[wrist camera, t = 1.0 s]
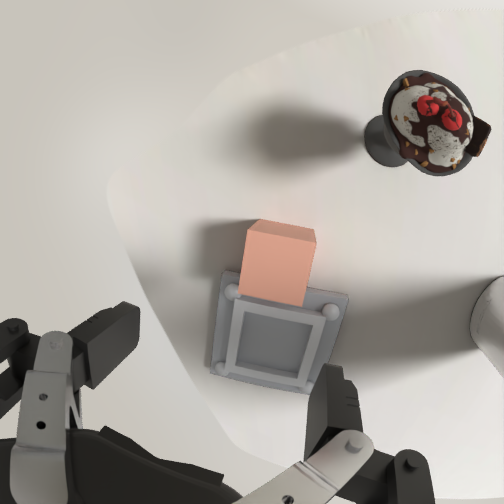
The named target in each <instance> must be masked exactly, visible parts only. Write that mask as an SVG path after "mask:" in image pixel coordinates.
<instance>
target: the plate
mask: <svg viewBox="0 0 504 504" xmlns="http://www.w3.org/2000/svg"><path fill="white" fill-rule="evenodd" d="M240 274H241V273H236V272H232V271H227V270H225V271H224V272H223V273H222V277H221V285H220V292H219V300H218V308H217V316H216V324H215V333H214V341H213V350H212V359H211V368H210V373H211V374H215V375H219V376H222V377H226V378H230V379H234V380H238V381H242V382H247V383H251V384H255V385H260V386H265V387H269V388H274V389H279V390H285V391H290V392H295V393H301V394H307V395H310V393H311V391H312V388H313V386H314V384H315V382H316V379H317V377H318V375H319V373H320V370H321V368H322V366H323V364H324V363H327V364H328V362H329V359H330V356H331V353H332V350H333V347H334V344H335V341H336V338H337V335H338V332H339V329H340V326H341V323H342V320H343V316H344V313H345V310H346V307H347V303H348V297H347V295H345V294H340V293H335V292H330V291H324V290H319V289H314V288H309V287H307V288H306V292H305V296H304V300H303V304H302V307H300V306H295V305H290V304H285V303H280V302H276V301H271V300H266V299H261V298H257V297H252V296H247V295H243V294H238V287H239V281H240Z"/></svg>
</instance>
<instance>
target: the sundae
mask: <svg viewBox="0 0 504 504" xmlns="http://www.w3.org/2000/svg"><path fill="white" fill-rule="evenodd" d="M382 114H383V115H380V116H377V117H375V118H374V119H373V120H372V121H370V122H369V124H368V126H367V128H366V131H365V143H366V147H367V149H368V152H369V153H370V154H371V156H372V157H373V158H374V159H375V160H376V161H377V162H379V163H380V164H382V165H384V166H388V167H398V166H401V165H404V164H405V163H406V162H407V161H409V162H410V163H411V164H412V165H413V166H414V167H416V168H417V169H418V170H420V171H421V172H423V173H426V174H428V175H433V176H446V175H451V174H453V173H456V172H459V171H460V170H462V169H463V168H464V167H465V166H466V165H467V164H468V163H469V162H470V161H471V159H472V157H478V156H479V155H480V153H481V151H482V150H483V148H484V146H485V144H486V141H487V138H488V136H489V134H490V132H491V126H490V125H489V124H487V123H486V122H484V121H483V120H481V119H479V118H477V117H475V116H474V113H473V110H472V107H471V105H470V103H469V101H468V99H467V98H466V96H465V95H464V94H463V92H462V91H461V90H460V89H459V88H458V87H457V86H456V85H455V84H453V83H452V82H451V81H449V80H448V79H446V78H444V77H442V76H440V75H437V74H435V73H431V72H428V71H423V70H413V71H409V72H406V73H404V74H402V75H401V76H399V77H398V78H397V79H396V80H395V81H393V83H392V84H391V86H390V88H389V89H388V91H387V93H386V95H385V97H384V102H383V107H382Z"/></svg>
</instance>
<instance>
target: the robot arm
mask: <svg viewBox="0 0 504 504" xmlns="http://www.w3.org/2000/svg"><path fill="white" fill-rule="evenodd" d="M139 331H140V308H139V307H137V306H135V305H132V304H130V303H127V302H125V301H123V302H121V303H120V304H118V305H117V306H115V307H114V308H108V309H104V310H101V311H99V312H98V313H96V314H95V315H93V317H90V318H89V319H87V321H84V322H83V323H81V324H80V325H78V326H77V327H75V328H74V329H72V330H71V331H69V332H68V333H64V332H61V331H51V332H48V333H46V334H44V335H43V336H42V337H40V336H37V335H34V334H31V333H29V330H28V325H27V323H26V322H25V321H24V320H21V319H18V318H12V319H7V320H5V321H3V322H2V323H0V363H2V362H3V361H4V360H6V359H7V360H8V363H9V366H10V367H9V368H7V369H6V370H5V371H4V372H2V373H1V374H0V419H1V418H2V417H3V416H4V415H5V414H6V413H7V412H8V411H9V410H10V409H11V408H12V407H13V406H14V405H15V404H16V403H18V402H19V401H20V400H21V404H20V412H19V419H18V427H17V438H8V439H0V504H326V503H328V502H329V501H330V500H331V499H332V498H333V497H334V496H335V495H336V496H339V497H341V498H344V499H347V500H350V501H352V502H355V503H356V504H435V498H434V492H433V486H432V481H431V476H430V470H429V466H428V462H427V460H426V458H425V457H424V456H423V455H422V454H421V453H419V452H417V451H415V450H410V449H406V450H402V451H400V452H399V453H397V455H396V456H392V455H389V454H386V453H383V452H380V451H378V450H376V449H374V445H373V442H372V440H371V439H370V438H369V437H368V436H367V435H366V434H364V433H363V427H362V419H361V412H360V408H359V406H360V405H359V400H358V393H357V389H356V387H355V386H354V384H353V383H352V381H350V380H345V379H344V376H343V368H342V367H341V366H336V365H332V364H327V363H324V364H323V366H322V368H321V370H320V373H319V375H318V377H317V379H316V382H315V384H314V386H313V388H312V391H311V393H310V397H309V401H308V411H307V426H306V439H305V451H304V461H303V463H302V462H301V461H299V462H297V463H295V464H294V465H292V466H291V467H289V468H288V469H287V470H285V471H284V472H282V473H281V474H279V475H278V476H276V477H275V478H273V479H272V480H271V481H269V482H267V483H266V484H264V485H263V486H261V487H260V488H258V489H256V490H255V491H253V492H251V493H250V494H248V495H246V496H245V497H242V496H241V495H240V494H239V493H238V492H236V491H235V490H234V489H232V488H231V487H229V486H228V485H226V484H224V483H222V480H223V477H224V474H221V473H217V472H214V471H211V470H207V469H204V468H201V467H198V466H195V465H193V464H186V463H179V462H174V461H169V460H163V459H159V458H157V457H155V456H153V455H152V454H151V453H149V452H148V451H146V450H145V449H143V448H142V447H141V446H140V445H138V444H137V443H136V442H134V441H133V440H132V439H130V438H128V437H126V436H124V435H122V434H120V433H118V432H116V431H115V430H113V429H111V428H109V427H107V426H104V427H103V428H102V429H101V430H100V432H99V431H95V430H89V429H83V426H82V409H81V389H80V388H81V387H82V386H83V385H86V386H88V387H89V388H91V389H95V388H96V386H97V385H99V383H101V382H102V381H103V379H105V378H106V377H107V376H108V375H109V374H110V373H111V372H112V371H113V370H114V369H115V368H116V367H117V366H118V365H119V364H120V363H121V362H122V361H123V360H124V359H125V358H126V357H127V356H128V355H129V354H130V353H131V352H132V351H133V350H134V349H135V348H136V346H137V344H138V341H139ZM470 332H471V337H472V339H473V341H474V342H475V344H476V345H477V346H478V347H479V348H480V349H481V351H482V352H483V353H484V354H485V355H486V357H487V358H488V359H489V361H490V362H491V363H492V364H493V365H494V367H495V368H496V369H497V370H498V372H499V373H500V374H501V376H502V377H503V378H504V276H503V277H500V278H498V279H496V280H495V281H493V282H492V283H491V284H490V285H489V286H488V287H487V288H486V289H485V290H484V292H483V293H482V294H481V296H480V298H479V299H478V301H477V303H476V305H475V307H474V310H473V313H472V316H471V322H470Z"/></svg>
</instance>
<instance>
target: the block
mask: <svg viewBox="0 0 504 504" xmlns="http://www.w3.org/2000/svg"><path fill="white" fill-rule="evenodd" d="M315 248H316V238H315V233H314V229H309V228H304V227H299V226H294V225H289V224H284V223H279V222H274V221H268V220H263V219H259V220H258V221H257V222H256V223H254V224H253V225H252V226H251V227H250V228H249V229H248V230H247V236H246V242H245V249H244V255H243V262H242V268H241V274H240V281H239V287H238V294H243V295H247V296H252V297H257V298H261V299H266V300H271V301H276V302H280V303H285V304H290V305H295V306H300V307H302V304H303V300H304V296H305V292H306V288H307V284H308V279H309V275H310V271H311V266H312V262H313V257H314V252H315Z"/></svg>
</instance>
